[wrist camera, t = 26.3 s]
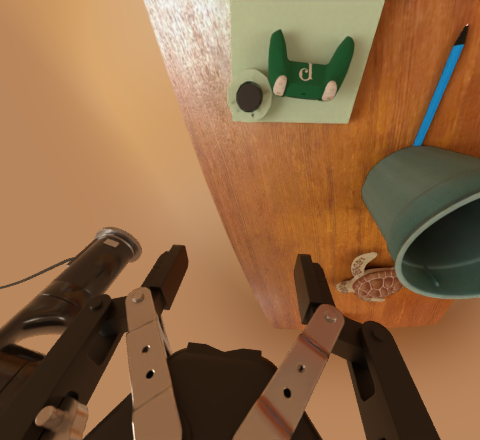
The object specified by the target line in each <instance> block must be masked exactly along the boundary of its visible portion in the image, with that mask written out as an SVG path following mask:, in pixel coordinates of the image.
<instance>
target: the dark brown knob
mask: <svg viewBox="0 0 480 440" xmlns="http://www.w3.org/2000/svg"><path fill="white" fill-rule="evenodd" d="M260 98H261V96H260V91H259V89H258V88H257V87H256V86H255V85H253V84H246V85H244V86H242V87H241V89H240V90H239V92H238V96H237V100H238V104H239V106H240V107H241V108H242V109H243V110H245V111H252V110H254V109H255V108H256V107H257V106H258V104H259V102H260Z"/></svg>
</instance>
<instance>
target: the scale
mask: <svg viewBox="0 0 480 440" xmlns="http://www.w3.org/2000/svg"><path fill="white" fill-rule="evenodd" d="M384 2H385V0H230V15H231V68H232V81H231V83H230V85H229V87H228V90H227V98H228V106H229V108H230V110H231V112H232V120H233V121H240V122H288V123H335V124H348V122H349V119H350V115H351V112H352V109H353V105H354V102H355V99H356V95H357V92H358V89H359V85H360V82H361V79H362V75H363V72H364V69H365V65H366V62H367V59H368V56H369V52H370V49H371V46H372V42H373V39H374V36H375V32H376V29H377V26H378V22H379V19H380V16H381V12H382V9H383V6H384ZM279 29H281V30H282V33H283V36H284V38H285V43H286V49H287V57H288V59H289V60H290V61H295V62H304V63H314V64H323V65H326V64H328V63H329V62H330V60H331V58H332V57H333V55H334V53H335V51H336V49H337V48H338V46H339V45H340V44H341V43H342V41H343V40H344V39H345V38H346V37H347V36H350V37H351V38H352V39H353V40H354V44H355V46H354V54H353V57H352V60H351V63H350V66H349V69H348V72H347V74H346V77H345V79H344V81H343V83H342V85H341V87H340V89H339V91H338V92H337V94H336V96H335V97H334V98H333V99H332V100H330V101H318V100H307V99H298V98H291V97H286V96H285V97H280V96H276V95H274V94H273V93H272V90H271V86H270V82H269V74H268V56H269V46H270V38H271V35H272V34H273V33H274V32H275V31H277V30H279ZM246 84H253V85H255V86H256V87H257V88H258V89H259V91H260V96H261V98H260V102H259V104H258V106H257V107H256V108H255V109H254V110H252V111H245V110H243V109H242V108H241V107H240V106H239V104H238V100H237V96H238V92H239V90H240V89H241V87H242V86H244V85H246Z"/></svg>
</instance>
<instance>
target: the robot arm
mask: <svg viewBox="0 0 480 440" xmlns="http://www.w3.org/2000/svg"><path fill="white" fill-rule="evenodd" d="M134 255H135V250H134V248H133V246H132V245H131V244H130V243H129V242H128V241H127V240H125V239H124V238H122V237H120V236H118V235H115V234H104V235H102V236H101V237H97V238H96V239H95V240H94V241H93V242H91V243H90V244H89V245H88V246H87V247H86V248H85V249H84V250H82V251H81V252H80V253H79V254H78V255H77V256H76V257H73V258H69V259H66V260H64V261H62V262H60V263H58V264H56V265H53V266H51V267H49V268H47V269H45V270H43V271H41V272H39V273H37V274H35V275H32V276H30V277H28V278H26V279H23V280H21V281H18V282H15V283H12V284H9V285H6V286H2V287H0V289H2V288H6V287H9V286H13V285H16V284H19V283H21V282H24V281H27V280H29V279H31V278H33V277H36V276H38V275H40V274H42V273H44V272H46V271H48V270H51V269H53V268H55V267H57V266H59V265H62V264H64V263H66V262H68V261H70V262H69V263H68V264H67V269H65V270H64V271H63V272H62V273H61V274H60V275H59V276H58V277H57V278H56V279H54V280H53V281H52V282H51V283H50V284H49V285H48V286H47V287H46V288H45V289H44V290H43V291H41V292H40V293H39V294H38V295H37V296H36V297H35V298H34V299H33V300H32V301H31V302H29V303H28V304H27V305H26V306H25V307H24V308H23V309H21V310H20V311H19V312H18V313H17V314H16V315H15V316H14V317H12V318H11V319H10V320H9V321H8V322H7V323H6V324H5V325H3V326H2V327H1V328H0V440H82V436H83V432H84V430H85V427H86V423H87V420H88V408H87V406H86V405H87V403H88V401H89V400H90V398H91V395H92V394H93V392H94V390H95V388H96V386H97V384H98V382H99V380H100V378H101V376H102V374H103V372H104V371H105V369H106V367H107V365H108V363H109V361H110V359H111V357H112V355H113V353H114V351H115V349H116V347H117V345H118V343H119V342H120V340H121V337H122V336H123V334H124V333H125V332H128V333H127V334H126V343H127V352H128V362H129V372H130V381H131V391H132V392H131V393H130V394H129V395H128V396H127V397H126V398H125V399H124V400H123V401H122V402H121V403H120V404H119V405H118V406H116V407H115V408H114V409H113V410H112V411H111V412H110V413H109V414H108V415H107V416H106V417H105V418H104V419H103V420H102V421H101V422H100V423H99V424H98V425H97V426H96V427H95V428H94V429H93V430H92V431H91V432H89V433H88V434H87V435H86V436H85V438H84V439H83V440H323V439H322V438H321V436H320V435H319V433H318V432H317V430H316V428H315V427H314V425H313V423H312V422H311V420H310V419H309V417H308V415H307V414H306V412H305V407H306V405H307V403H308V401H309V399H310V397H311V395H312V393H313V391H314V388H315V386H316V384H317V382H318V380H319V378H320V376H321V374H322V371H323V369H324V367H325V365H326V363H327V361H328V358H329V355H330V353H333V354H335V355H338V356H340V357H342V358H344V359H346V360H347V364H348V367H349V372H350V376H351V379H352V383H353V387H354V391H355V395H356V399H357V403H358V407H359V411H360V415H361V419H362V423H363V426H364V431H365V434H366V439H367V440H440V438H439V435H438V433H437V431H436V429H435V427H434V425H433V422H432V420H431V418H430V416H429V414H428V412H427V410H426V407H425V405H424V403H423V401H422V399H421V397H420V394H419V392H418V390H417V388H416V386H415V384H414V382H413V379H412V377H411V375H410V373H409V371H408V369H407V367H406V364H405V362H404V360H403V358H402V356H401V354H400V351H399V349H398V347H397V345H396V343H395V341H394V338H393V336H392V335H391V333H390V332H389V331H388V330H387V329H386V328H385V327H384V326H382V325H381V324H379V323H377V322H374V321H367V322H365V323H364V324H361V323H359V322H356V321H354V320H351V319H349V318H347V317H345V316H344V315H342V313H341V312H340V311H339V310H338V309H337V308H336V307H335V304H334V301H333V298H332V295H331V292H330V289H329V286H328V283H327V280H326V278H325V274H324V271H323V269H322V268H321V266H320V265H319V264H318V263H312V259H311V256H310V255H307V254H298V256H297V260H296V264H295V269H294V279H295V285H296V292H297V298H298V304H299V310H300V316H301V322H302V324H304V325H307V326H306V328H305V329H304V331H303V332H302V334H300V335H299V336H298V338H297V339H296V341H295V343H294V344H293V346H292V347H291V349H290V351H289V352H288V353H287V355H286V357H285V358H284V360H283V361H282V363H281V364H280V366H279V368H277V367H276V366H275V365H274V364H273V363H272V362H271V361H269V360H268V359H266V358H264V357H262V356H261V351H260V350H251V349H238V350H233V351H227V352H222V351H220V350H218V349H215V348H213V347H211V346H209V345H206V344H199V343H191V342H189V343H188V346H187V348H184V349H181V350H179V351H177V352H175V353H173V354H172V351H171V348H170V345H169V342H168V339H167V335H166V331H165V327H164V324H163V320H162V317H161V314H162V311H163V309H165V310H170V307H171V305H172V303H173V300H174V298H175V296H176V293H177V291H178V289H179V287H180V284H181V282H182V280H183V277H184V275H185V273H186V270H187V268H188V257H187V253H186V248H185V246H183V245H173V246H172V248H171V249H170V251H168V252H167V251H166V252H165V253H163V254H162V255H161V256H160V257H159V258H158V260H157V261H156V263H155V265H154V266H153V269H152V270H151V271H150V273H149V274H148V276H147V277H146V279H145V281H144V282H143V284H142V285H141V287H140V288H137V289H135V290H133V291H132V292H130V293H129V295H128V296H125V297H120V298H114V299H111V298H110V296H109V295H107V294H104V293H105V292H106V291H107V290H108V288H109V287H110V286H111V284H112V283H113V282H114V281H115V279H116V278H117V277H118V275H119V274H120V273H121V272H122V270H123V269H124V268H125V267H126V265H127V264H128V263H129V261H130V260H131V259H132V258H133V257H134ZM48 334H56V335H58V334H62V335H61V337H60V338H59V339H58V340H57V342H56V343H55V345H54V346H53V347H52V348H51V350H50V351H49V352H48V353H47V355H46V354H43V353H40V352H37V351H34V350H31V349H28V348H26V347H23V346H20V345H17V343H18V342H19V341H21V340H23V339H26V338H29V337H33V336H38V335H48Z"/></svg>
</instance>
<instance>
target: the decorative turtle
mask: <svg viewBox="0 0 480 440" xmlns="http://www.w3.org/2000/svg"><path fill="white" fill-rule="evenodd" d="M376 256H377V253H376V252H370V253H366V254H362V255H360V256H358V257H357V258H355V259H354V261H353V262H352V265H351V272H352V274H353V276H354V278H352V279H351V280H350V281H342V282H340V283H338V284H337V286H336V289H337V290H338V291H339V292H341V293H349V292H354V294H356V295H358V296H359V297H360V298H361V299H362V300H364V301H371V302H380V301H385V299H384V298H382V297H385V296H389V295H392V294H393V293H395V292H398V291H399V290H401V289H402V288H404V287H405V286H404V285H403V284H402V283H401V282H400V281H399V279H398V278H397V275H396V272H395V268H394V267H392V268H375V269H368V270H364V268H365V266H366V265H367V263H369V262H370V261H371V260H373V259H374V258H375V257H376Z"/></svg>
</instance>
